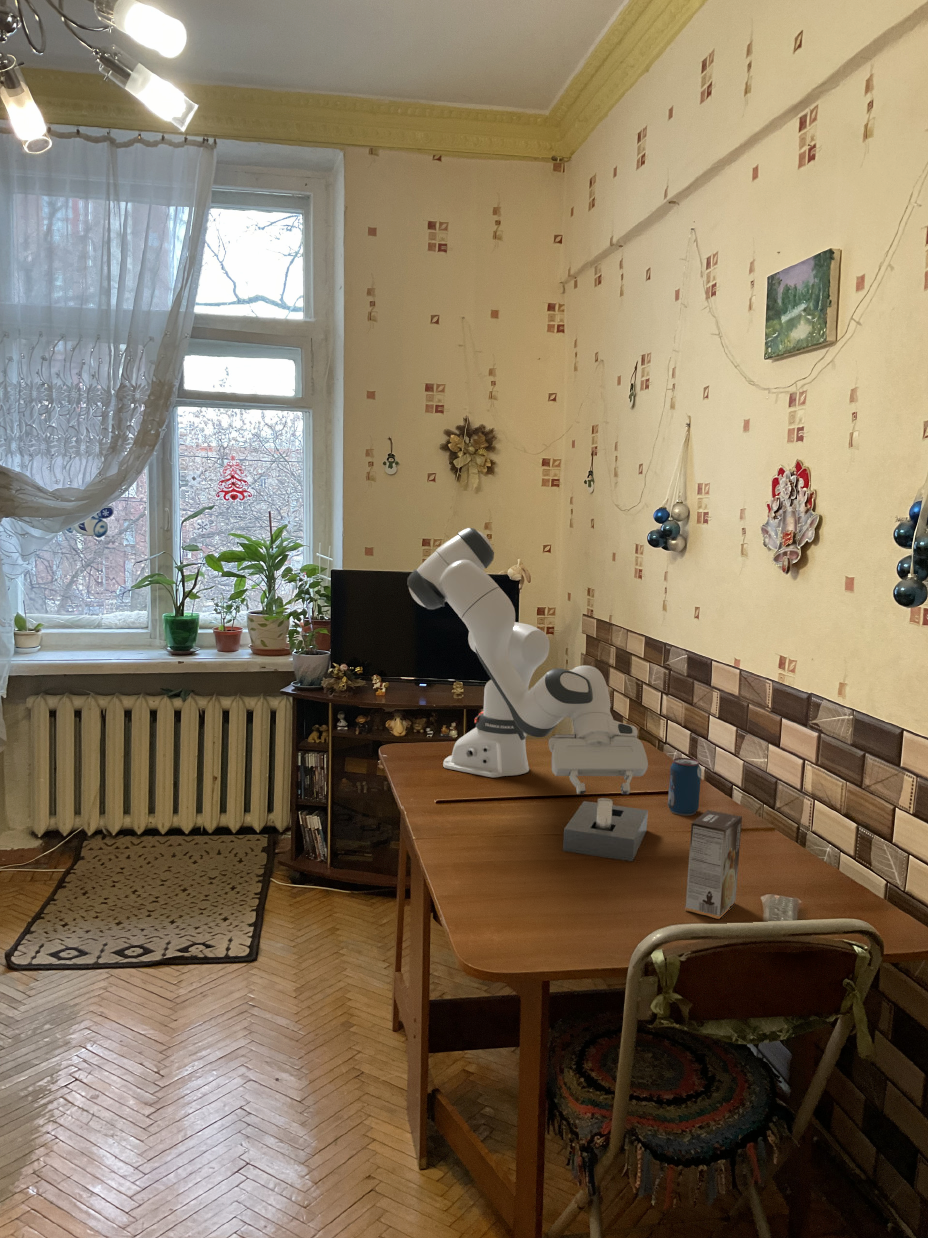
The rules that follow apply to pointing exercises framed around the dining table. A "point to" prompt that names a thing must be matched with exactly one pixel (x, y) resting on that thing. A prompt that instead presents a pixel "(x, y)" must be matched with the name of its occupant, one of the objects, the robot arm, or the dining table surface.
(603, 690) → the robot arm
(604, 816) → the steel pin
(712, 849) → the coffee box
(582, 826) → the grey peg hole block
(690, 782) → the soda can
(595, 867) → the dining table surface
